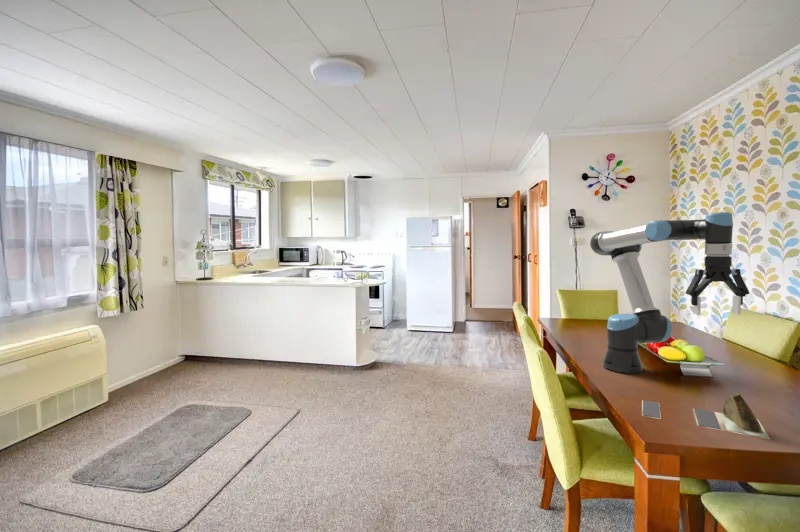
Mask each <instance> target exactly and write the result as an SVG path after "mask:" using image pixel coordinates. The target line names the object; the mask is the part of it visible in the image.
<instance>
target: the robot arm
mask: <svg viewBox="0 0 800 532" xmlns="http://www.w3.org/2000/svg"><path fill="white" fill-rule="evenodd" d="M733 228H734V220H733V214H732V213H731V212H728V211H727V212H726V211H725V212H724V211H722V212H711V213H709V212H708V213H706V214H705V218H703V219H675V220H665V219H664V220H663V219H659V220H658V219H657V220H651V221H649V222H647V223H646V224H643V225H642V224H641V225H637V226H633V227H628V228H625V229H624V228H623V229H620V230H615V231H612V230H609V231H608V230H606V231H605V230H604V231H599V232H596V233H595V234H594V235H593V236H592V237H591V239H590V243H589V244H590V246H589V247H590V248H591V250H592V252H594V253H595V254H597V255H600V256H611V257H610V258H611V260H612V262H613V263H615V264H617V267H618V269H619V273H620V276H621V279H622V282H623V285H624V287H625V291H626V294H627V298H628V300H629V304H630V307H631V309H632V311H631V313H617V314H612V315H610V316H609V317H608V319H607V324H606V329H607V332H606V335H607V336H606V337H607V342H606V344H607V345H606V346H607V347H606V352H605V354H604V357H603V360H602V367H603V366H604V367H606V368H608V369H610V370H609V371H611V370H613V371H612V372H615V371H617V372H616V373H620V372H625V373H624V374H639V373H638V372H640V373H641V371H642V372H643V363H642V360H641V358H640V354H639V344H640V345H641V344H657V343H663V342H666V341H667V340H669V339H670V337H671V335H672V332H673V325H672V322H671V320H670V318H669V317H667V316H665V315H663V314H662V313H661V310H660V309H659V308H657V307H656V306H655V305H654V301H653V299H652V296H651V293H650V290H649V287H648V285H647V282H646V280H645V276H644V274H643V271H642V268H641V266H640V265H641V264H640V262H639V259H638V258H639V257H640V255H641V254H640V252H641V251H642V246H643V244H649V243H655V242H656V243H657V242H663V241H681V240H683V241H687V240H688V241H691V240H694V241H695V240H704V244H705V245H704V255H706V256H704V266H705V268H704V269H701V268H696V269H695V273H694V275H693V277H692V279H691V281H690V283H689V285H688V286H687V289H686V290H685V294H686V295H688V296H690V297H691V299H690V301H691V303H690V304H691V306H692V307H693V308H692V309H693V310H692V314H694V315H697V316H700V315H701V311H702V310H701V308H702V305H701V303H702V297H701V296H700V295H701V294H702V293H703V292H704V290H705V289H706V288H707V287H708V286H709V285H710V284H711V283H713V282H715V283H716V282H723V283H725V284H726V287H728V288H729V289H730V291H732V293H733V294H734V295H732V311H731V312H732V314H735V315H739V316H740V315H741V313H742V312H741V311H742V310H741V309H742V308H741V307H742V306H743V304H744V303H743V302H744V301H743V299H744V297H746V296H747V295H750V291H749V289H748V286H747V285H746V282H745V281H744V279H743V277H742V275H741V269H740V268H731V267H732V266H733V265H732V264H733V262H732V261H733V259H732V256H731V255H732V254H733ZM730 275H731V276H732V277H731V276H730ZM732 278H733V279H732ZM733 280H734V281H733ZM604 367H603V368H604ZM606 368H605V369H606ZM608 369H607V370H608Z"/></svg>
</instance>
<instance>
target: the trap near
mask: <svg viewBox="0 0 800 532" xmlns="http://www.w3.org/2000/svg"><path fill="white" fill-rule="evenodd" d="M642 400H643V415H645V416H644V417H646V416H650V417H649V418H652V417H656V418H655V419H657V418H660V415H661V412H660V413H659V404H660V402H657V401H651V400H644V399H642Z"/></svg>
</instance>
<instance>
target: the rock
mask: <svg viewBox="0 0 800 532" xmlns="http://www.w3.org/2000/svg"><path fill="white" fill-rule="evenodd" d="M722 408H723V409H722V411H723V412H722V413H723V414H724V416H726V417H727V418H729V419H730V420H731V421H733V422H734V423H735V424H737V425H738V426H740V427H741V428H743V429H745V430H749V431H753V432H758V433H763V431H762V430H761V426H760V424H759V422H760V421H759V422H758V421H757V419H758V418H757V417H756V416H755V414H754V413H753V412H754V411H753V410H752V409H751V408H750V406H749V404H748V403H747V402H746V400H745V399H744V398H743V396H742V395H741V393H739V392H738V393H737V394H735V395H733V396H730V397H728V398H727V399H726V400H725V402H724V403H723V407H722Z"/></svg>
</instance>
